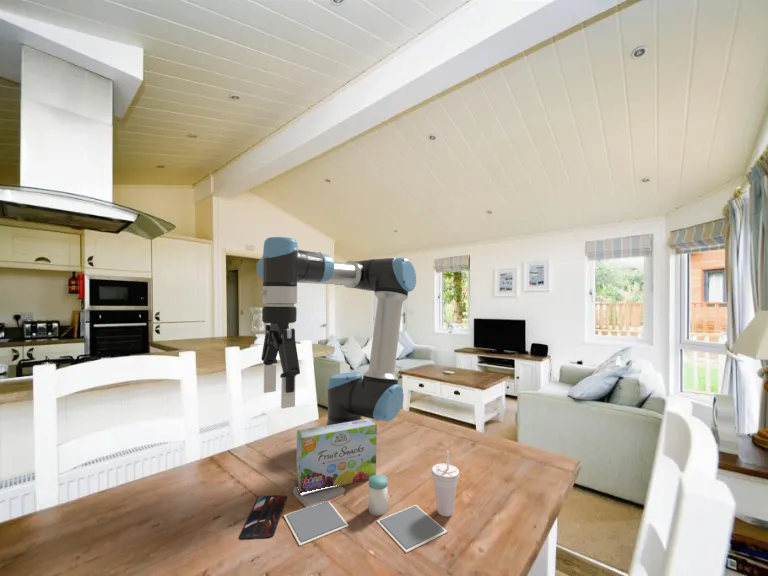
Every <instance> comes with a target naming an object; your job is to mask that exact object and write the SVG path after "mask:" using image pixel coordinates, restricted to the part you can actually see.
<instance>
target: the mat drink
mask: <svg viewBox="0 0 768 576" xmlns="http://www.w3.org/2000/svg"><path fill="white" fill-rule="evenodd" d="M376 523H377V524H378V525H379V526H380V527H381V529H383V530H384V531H385V532H386V533H387V534H388V535H389V536H390V537H391V539H392V540H393V541H394V542H395V543H396V544H397V545H398V546H399V547H400V548H401V549H402V550H403V551H404V553H406V554H408V553H409V552H411V551H413V550H416V549H418V548H419V547H421V546H424V545H425V544H427V543H429V542H431V541H433V540H436V539H437V538H439V537H441V536H443V535H445V534H447V533H448V530H447V529H445V528H444V527H443V526H442V525H441V524H440V523H438V522H437V521H436V520H435V519H433V517H432V516H430V515H429V514H428V513H427V512H425V511H424V510H422V508H420V507H419V506H418V505H417V504H413V505H411V506H410V507H407V508H406V507H405V509H402V510H400V511H397V512H394V513H392V514H390V515H388V516H385V517H383V518H381V519H378V520H376Z"/></svg>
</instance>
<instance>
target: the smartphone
mask: <svg viewBox="0 0 768 576" xmlns="http://www.w3.org/2000/svg"><path fill="white" fill-rule="evenodd" d="M287 498H288V497H287V495H286V494H273V495H272V494H270V495H260V496H258V497H257V498H256V500H255V502H254V504H253V506H252V509H251V511H250V513H249V515H248V517H247V519H246V521H245V523H244V526H243V528H242V529H241V532H240V534H239V536H238V539H239V540H241V541H242V540H243V541H244V540H255V539H256V540H262V539H263V540H264V539H272V538H273V537H274V536H275V533H276V531H277V527H278V524H279V521H280V518H281V516H282V513H283V510H284V508H285V506H286V501H287Z"/></svg>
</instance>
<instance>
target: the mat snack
mask: <svg viewBox="0 0 768 576" xmlns="http://www.w3.org/2000/svg"><path fill="white" fill-rule="evenodd" d="M325 501H326V500H325ZM323 502H324V501H323ZM283 518H284V520H285V521H286V524H287V525H288V526H289V530H291V532H292V534H293V537H294V538H295V540H296V542H297V544H298V545H299V547H302V546H304V545H306V544H308V543H311V542H313V541H316V540H318V539H321V538H323V537H326V536H329V535H331V534H333V533H336V532H338V531H341V530H343V529H346V528H347V527H349V524H348V523H347V521H346V520H345V518H344V517H343V516H342V515H341V514H340V512H339V511H338V510H337V509H336V507H334V505H333V504H332V503H331V501H330V500H329V502H328V501H326V502H324V503H322V504H319V505H317V506H314V507H309V506H306V507H304V508H301V509H300V508H299V510H296V511H292V512H289V513H287V514H284V515H283Z"/></svg>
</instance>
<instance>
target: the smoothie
mask: <svg viewBox="0 0 768 576" xmlns="http://www.w3.org/2000/svg"><path fill="white" fill-rule="evenodd" d="M431 475H432V477H433V484H434V494H435V501H436V511H437V514H439V515H440V516H443V517H451V516H453V515H454V511H455V502H456V496H457V495H456V494H457V487H458V478H459V477H460V470H459V468H458V467H456V466H455V465H453V464H450V451H449V450H447V451H446V463H445V462H444V463H443V462H442V463H436V464H435V465H433V466H432V468H431Z"/></svg>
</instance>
